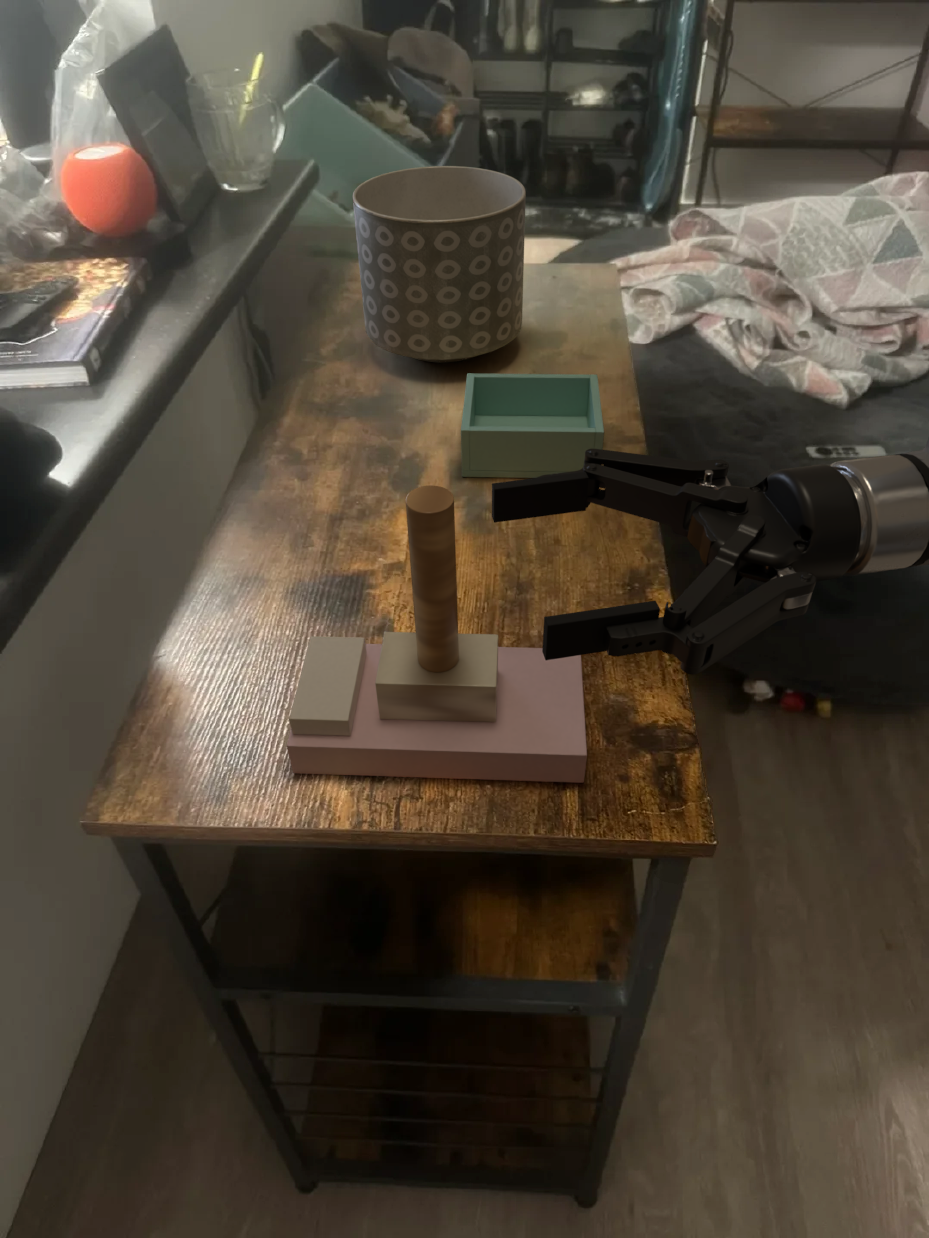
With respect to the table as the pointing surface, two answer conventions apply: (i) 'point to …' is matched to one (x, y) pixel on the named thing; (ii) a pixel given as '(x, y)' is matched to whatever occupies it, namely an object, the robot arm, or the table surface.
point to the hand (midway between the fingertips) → (515, 565)
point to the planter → (441, 260)
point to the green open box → (529, 424)
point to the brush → (436, 631)
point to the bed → (503, 750)
